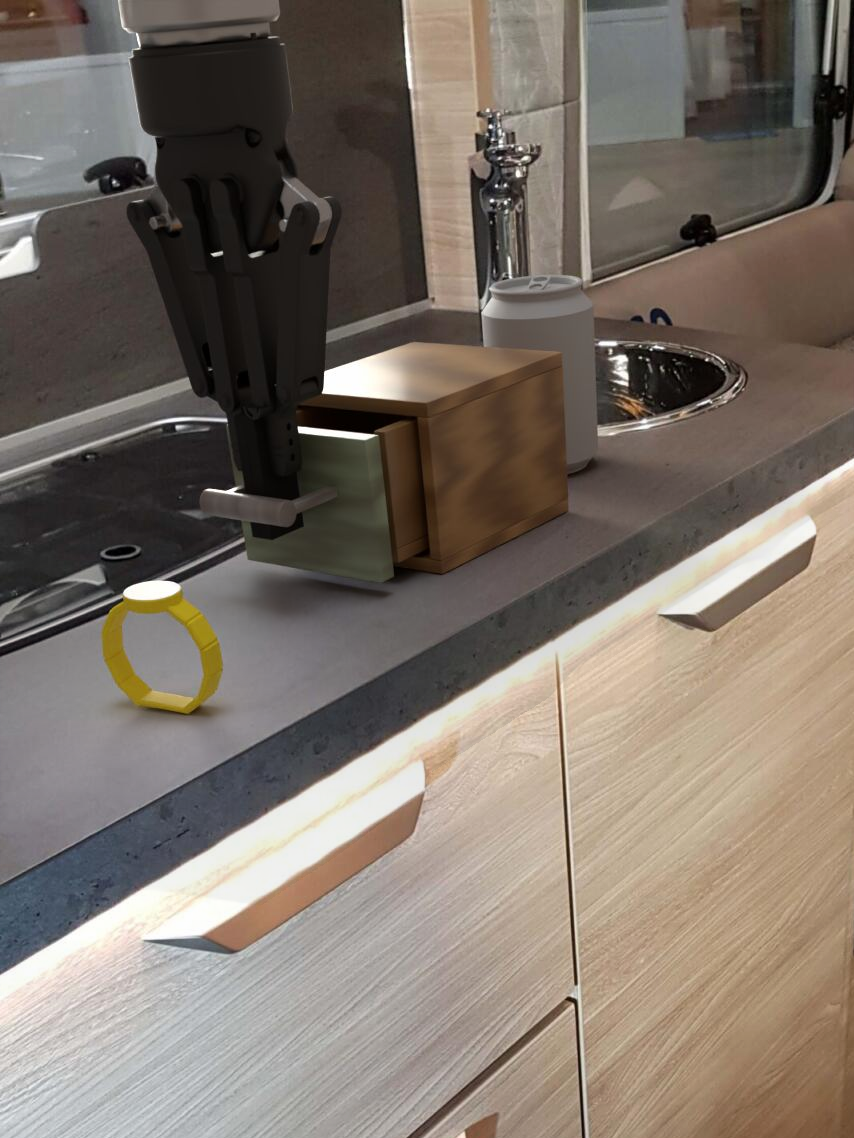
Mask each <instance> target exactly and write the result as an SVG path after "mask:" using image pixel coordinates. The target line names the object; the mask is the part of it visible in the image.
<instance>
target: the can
mask: <svg viewBox="0 0 854 1138" xmlns="http://www.w3.org/2000/svg"><path fill="white" fill-rule="evenodd" d="M582 285H584V280H583V279H582V278H580V276H579V277H578V276H574V275H567V274H541V275H528V276H527V275H526V276H519V277H512V278H507V279H504V280H499V281H497V282H494V283H492V284H491V285H490V286H489V288H488V290H489V291H490V293H491V297H490V299H489V301H488V302H487V303H486V305H485V307H484V308H483V309H482V310H481V325H482V340H483V342H482V343H483V347H495V348H510V349H525V350H540V351H555V352H562V366H563V387H564V410H565V433H566V456H567V475H570V474H573V473H576V472H579V471H582V470H583V469H585V468H586V467H587V465H588V463H589V462H590V461H591V460H592V459H594V457H595V456H596V455H597V453H598V451H599V431H598V430H599V429H598V405H597V404H598V403H597V401H598V400H597V399H598V398H597V373H596V371H597V370H596V342H595V341H596V340H595V311H594V309H595V308H594V307H595V306H594V303H593V301H592V300H591V299H590V298H589V297H588V296H587V295H586V294H585V292H584V291H583V290H582Z"/></svg>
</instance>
